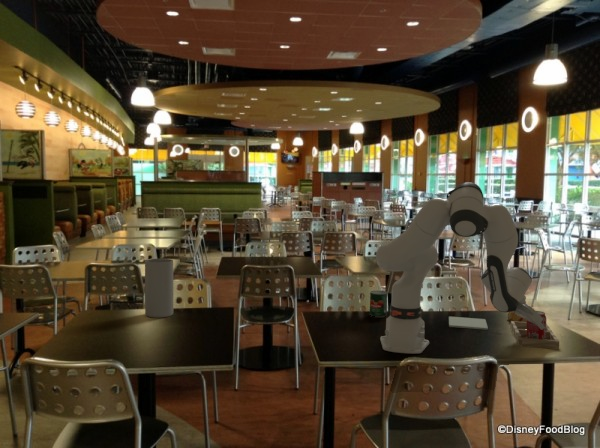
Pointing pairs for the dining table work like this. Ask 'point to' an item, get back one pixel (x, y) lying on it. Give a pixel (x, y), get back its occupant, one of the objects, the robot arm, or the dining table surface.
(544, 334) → the soda can
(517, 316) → the croissant
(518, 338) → the drink caddy
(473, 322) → the coaster mat
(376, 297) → the canned tomato
